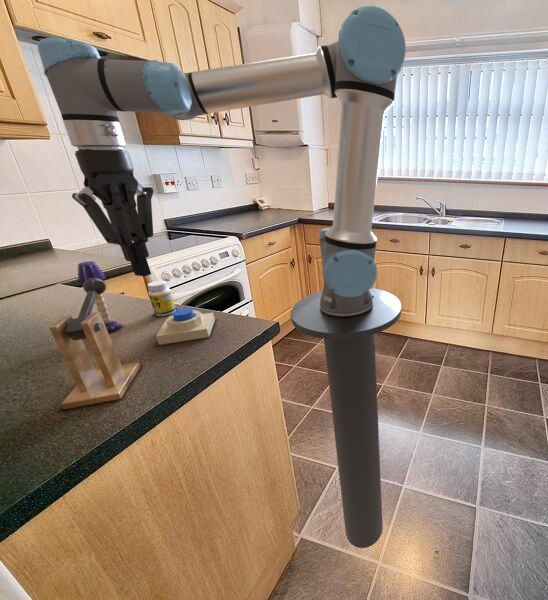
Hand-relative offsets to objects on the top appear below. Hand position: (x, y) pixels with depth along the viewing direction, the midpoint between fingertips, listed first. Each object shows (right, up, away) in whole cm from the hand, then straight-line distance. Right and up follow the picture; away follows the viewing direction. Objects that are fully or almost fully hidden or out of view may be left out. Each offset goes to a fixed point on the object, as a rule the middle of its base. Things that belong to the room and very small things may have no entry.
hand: (143, 274), depth 69 cm
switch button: (+3, -10, +9) cm, 14 cm away
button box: (+3, -13, +11) cm, 17 cm away
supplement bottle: (-10, -9, +20) cm, 24 cm away
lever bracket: (-1, -21, -8) cm, 22 cm away
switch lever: (-3, -7, -8) cm, 11 cm away
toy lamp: (-17, -12, +12) cm, 24 cm away
